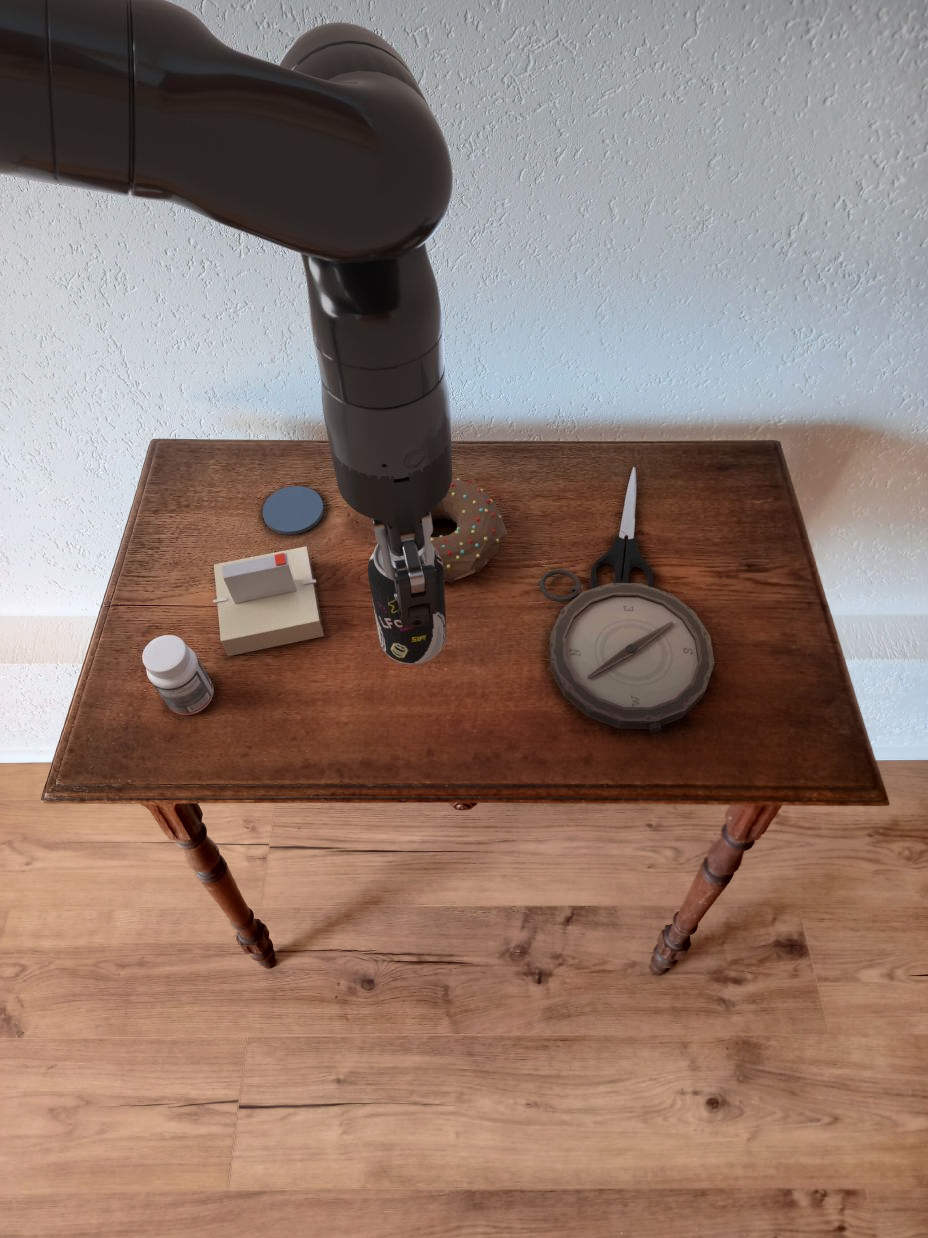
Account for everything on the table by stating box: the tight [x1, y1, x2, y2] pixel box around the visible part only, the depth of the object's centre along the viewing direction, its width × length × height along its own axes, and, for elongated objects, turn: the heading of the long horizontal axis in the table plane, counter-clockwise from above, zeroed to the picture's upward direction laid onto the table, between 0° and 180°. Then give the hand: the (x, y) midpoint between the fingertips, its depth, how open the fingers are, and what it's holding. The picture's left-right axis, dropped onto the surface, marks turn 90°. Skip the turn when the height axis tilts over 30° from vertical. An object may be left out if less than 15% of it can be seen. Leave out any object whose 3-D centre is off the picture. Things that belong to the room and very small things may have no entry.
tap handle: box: [222, 553, 297, 603], centre depth 82 cm, size 6×2×5 cm, turn 104°
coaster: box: [262, 485, 325, 536], centre depth 94 cm, size 7×7×1 cm
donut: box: [430, 477, 509, 584], centre depth 89 cm, size 14×14×5 cm
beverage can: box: [367, 543, 448, 665], centre depth 64 cm, size 6×6×12 cm
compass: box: [538, 568, 715, 734], centre depth 82 cm, size 20×16×2 cm
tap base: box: [212, 545, 325, 657], centre depth 85 cm, size 11×10×3 cm
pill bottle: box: [141, 634, 215, 716], centre depth 78 cm, size 5×5×8 cm
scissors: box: [590, 466, 655, 589], centre depth 91 cm, size 7×1×20 cm
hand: (407, 588), depth 63 cm, fingers closed on beverage can, 5 cm apart
